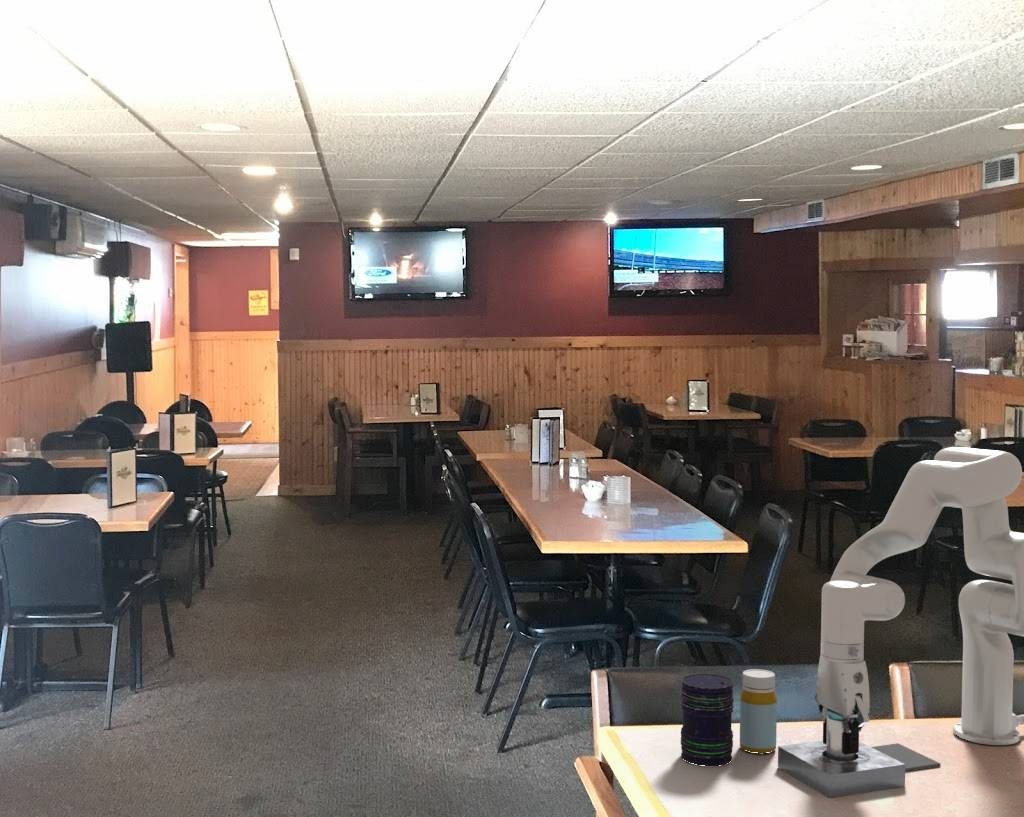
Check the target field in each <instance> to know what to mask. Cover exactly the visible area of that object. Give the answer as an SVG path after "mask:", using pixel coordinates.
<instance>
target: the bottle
mask: <svg viewBox="0 0 1024 817" xmlns="http://www.w3.org/2000/svg"><path fill="white" fill-rule="evenodd" d="M775 689H776V675H775V673H774V672H773V671H770V670H766V669H759V668H758V669H757V668H756V669H755V668H752V669H751V668H750V669H746V670H744V671H742V690H741V693H740V696H739V697H740V698H739V747H740V748H741V750H743V749H744V750H747V751H750V752H758V753H766V752H771V751H773V752H775V750H776V749H777V722H778V720H777V719H778V718H777V714H778V712H777V711H778V705H777V704H778V701H777V700H778V698H777V693H776V690H775ZM744 750H743V751H744Z"/></svg>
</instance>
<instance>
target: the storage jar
mask: <svg viewBox="0 0 1024 817" xmlns="http://www.w3.org/2000/svg"><path fill="white" fill-rule="evenodd" d="M681 685H682V686H681V693H680V694H681V695H680V699H681V700H680V701H681V702H680V703H681V704H680V706H681V710H682V727H681V728H680V745H681V746H680V750H681V754H680V758H681V757H682V758H683V759H684V760H686V761H688V762H690V763H694V764H697V765H705V766H719V765H725V764H727V763H729V762H730V761H731V760H732V761H733V755H732V753H733V747H734V740H733V738H734V733H733V730H732V713H733V712H734V711H733V710H734V689H733V687H734V681H733V680H732V678H729V677H726V676H723V675H718V674H710V673H709V674H708V673H696V674H689V675H686V676H683V678H682V679H681ZM682 758H681V759H682ZM725 766H726V765H725Z"/></svg>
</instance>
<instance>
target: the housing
mask: <svg viewBox="0 0 1024 817" xmlns="http://www.w3.org/2000/svg"><path fill="white" fill-rule="evenodd" d="M777 747H778V748H777V768H778V767H779V768H778V769H780V768H781V769H780V770H781V771H783V770H784V771H783V772H785V771H786V773H787V774H788V773H789V775H791V776H792V777H793V776H794V777H793V778H795V779H797V780H799V781H800V782H802V783H803V784H806V785H808V786H809V787H810V788H812V789H814V790H815V791H818V792H819V793H821V794H823V795H824V796H826V797H828V798H829V799H831V798H837V797H844V796H850V795H858V794H863V793H871V792H877V791H882V790H888V789H889V790H890V789H896V788H902V787H906V772H905V764H904V763H902V762H900V761H898V760H896V759H894V758H892V757H890V756H888V755H886V754H884V753H882V752H880V751H877V750H875V749H873V748H871V747H872V746H869V745H867V744H866V743H863V742H861V741H859V752H858V753H855V760H854V761H836V760H832V759H828V758H826V744H824V743H823V739H822V740H816V741H815V740H814V741H808V742H799V743H793V744H786V745H778V746H777Z"/></svg>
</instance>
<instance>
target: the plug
mask: <svg viewBox="0 0 1024 817" xmlns="http://www.w3.org/2000/svg"><path fill="white" fill-rule="evenodd" d="M852 714H853V711H852ZM849 719H850V724H851V723H852V722H853V721H854V719H853V718H849ZM843 732H845V728H844V722H843V715H841V714H838V713H836V712H834V711H832V710H830V709H828V710H827V740H826V758H828V759H832V760H836V761H854V760H855V753H854V754H847V755H845V754H843V753H842V733H843Z"/></svg>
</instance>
